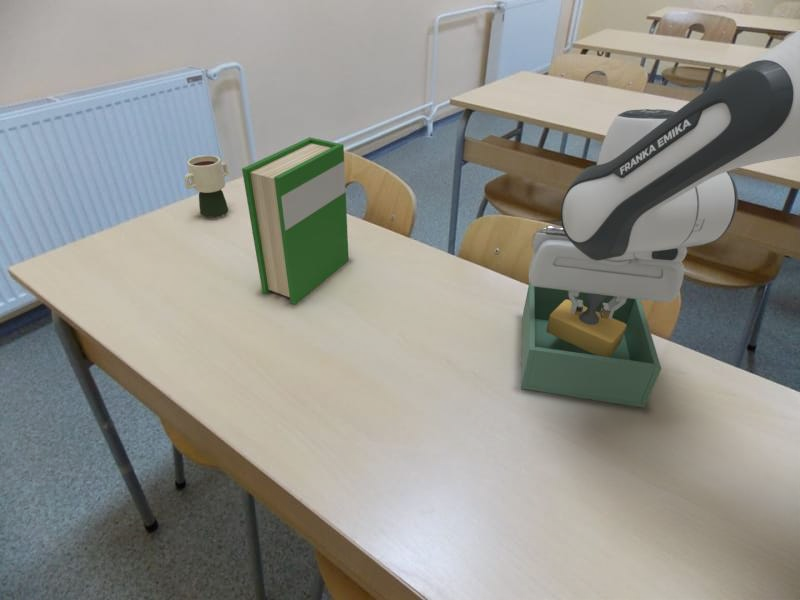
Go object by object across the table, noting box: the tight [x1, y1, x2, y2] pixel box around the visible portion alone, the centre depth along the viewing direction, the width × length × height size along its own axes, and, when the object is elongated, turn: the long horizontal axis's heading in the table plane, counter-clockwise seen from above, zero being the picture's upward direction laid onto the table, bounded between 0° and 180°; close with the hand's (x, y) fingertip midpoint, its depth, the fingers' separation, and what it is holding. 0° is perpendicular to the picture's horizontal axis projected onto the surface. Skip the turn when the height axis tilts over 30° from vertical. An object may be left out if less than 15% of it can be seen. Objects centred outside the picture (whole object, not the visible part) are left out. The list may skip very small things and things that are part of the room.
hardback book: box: [241, 136, 350, 305], centre depth 94 cm, size 18×7×24 cm, turn 151°
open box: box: [520, 281, 662, 409], centre depth 81 cm, size 18×18×8 cm
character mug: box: [183, 154, 229, 218], centre depth 117 cm, size 11×7×13 cm, turn 142°
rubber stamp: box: [546, 293, 627, 357], centre depth 77 cm, size 10×6×12 cm, turn 50°
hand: (590, 314), depth 78 cm, fingers closed on rubber stamp, 3 cm apart
